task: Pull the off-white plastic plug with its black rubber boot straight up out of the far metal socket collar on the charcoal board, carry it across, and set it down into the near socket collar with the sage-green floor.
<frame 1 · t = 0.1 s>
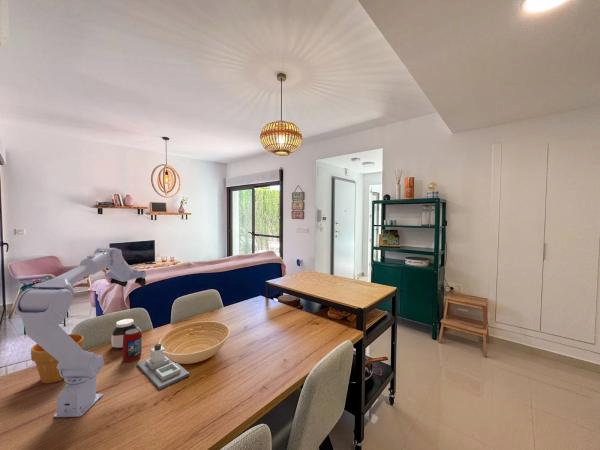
hand: (135, 284, 108), 32 cm above the table, tool tilted 50°, fingers open, 7 cm apart
board: (162, 370, 99), on the table
flower pot: (57, 376, 94), on the table
spread jar: (126, 344, 120), on the table
beverage can: (132, 358, 107), on the table
plug: (157, 363, 103), point 1 cm above the table, touching board
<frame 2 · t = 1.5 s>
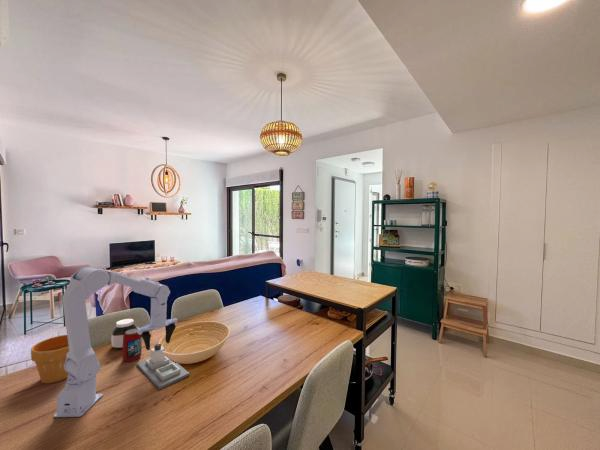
hand: (157, 345, 103), 8 cm above the table, tool pointing down, fingers open, 7 cm apart
nothing on the table moved.
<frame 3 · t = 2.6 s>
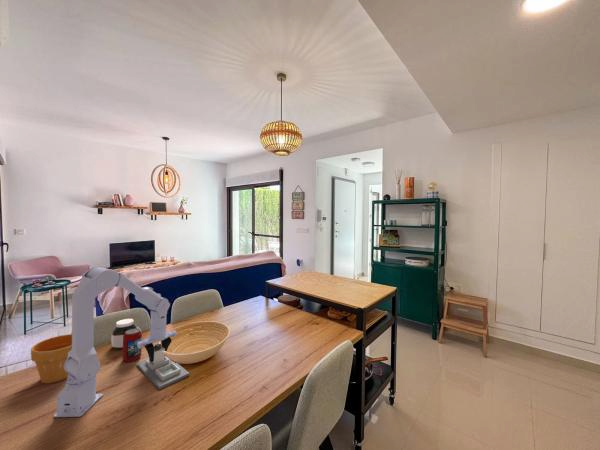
hand: (157, 358, 103), 3 cm above the table, tool pointing down, fingers closed on plug, 4 cm apart
plug: (157, 363, 103), point 1 cm above the table, touching board, gripper
everything else where it was.
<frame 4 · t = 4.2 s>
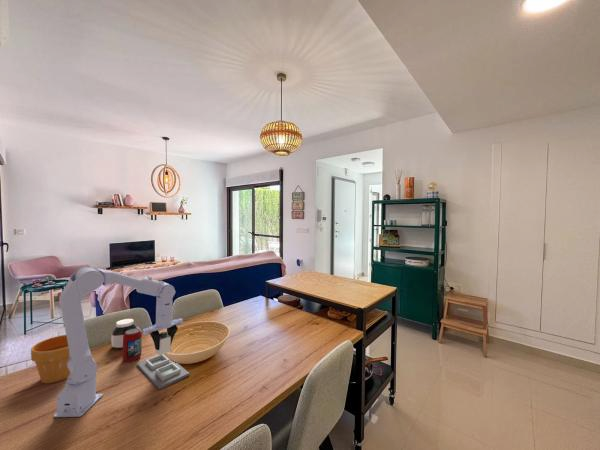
hand: (163, 346, 99), 10 cm above the table, tool pointing down, fingers closed on plug, 4 cm apart
plug: (162, 351, 99), point 8 cm above the table, touching gripper
everything else where it was.
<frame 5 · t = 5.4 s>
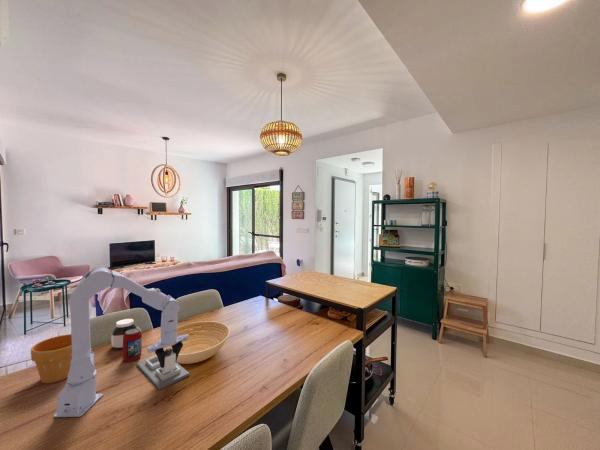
hand: (168, 364, 96), 4 cm above the table, tool pointing down, fingers closed on plug, 4 cm apart
plug: (167, 369, 96), point 2 cm above the table, touching gripper
everything else where it was.
when the fingers open (4 cm above the table, at t = 5.9 s): plug stays where it is, resting on board.
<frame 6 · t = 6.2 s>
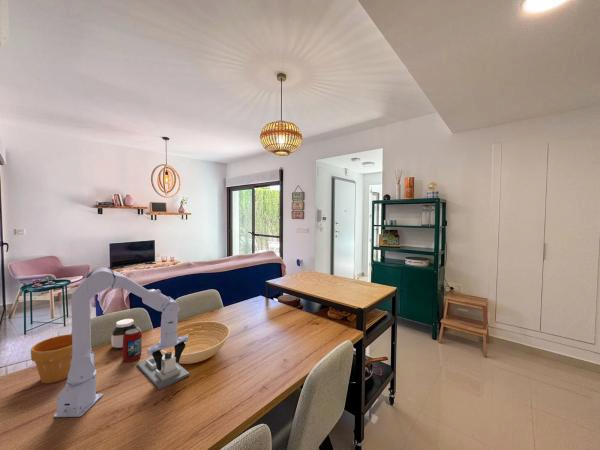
hand: (168, 365, 96), 4 cm above the table, tool pointing down, fingers open, 6 cm apart
plug: (167, 372, 96), point 1 cm above the table, touching board
everything else where it was.
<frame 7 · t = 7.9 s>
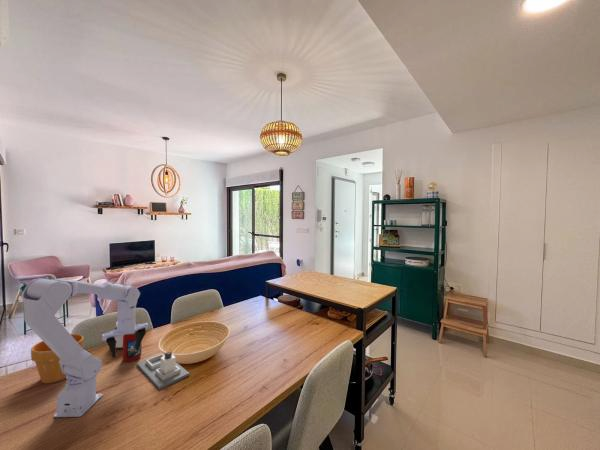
hand: (125, 352, 95), 9 cm above the table, tool pointing down, fingers open, 7 cm apart
nothing on the table moved.
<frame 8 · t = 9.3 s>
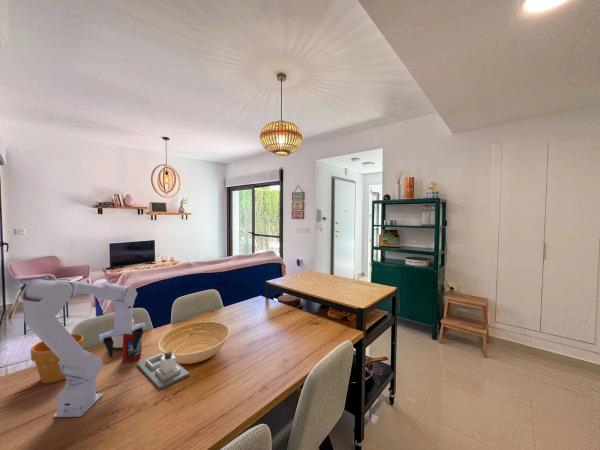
hand: (122, 352, 94), 9 cm above the table, tool pointing down, fingers open, 7 cm apart
nothing on the table moved.
at the end: plug 0.2 cm from the target spot on the board, point 1.1 cm above the board's base; plug tilted 0°; the gripper is holding nothing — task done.
